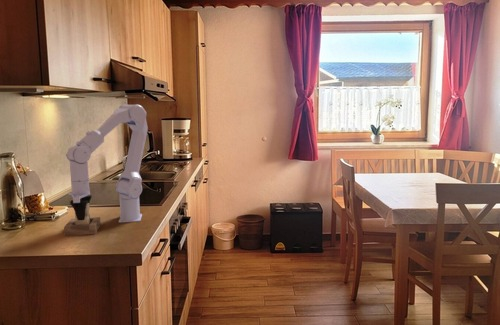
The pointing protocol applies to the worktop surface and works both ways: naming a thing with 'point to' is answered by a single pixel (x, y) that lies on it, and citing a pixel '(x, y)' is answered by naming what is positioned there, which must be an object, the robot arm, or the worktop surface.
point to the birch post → (87, 217)
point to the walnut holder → (82, 227)
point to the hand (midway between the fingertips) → (82, 218)
